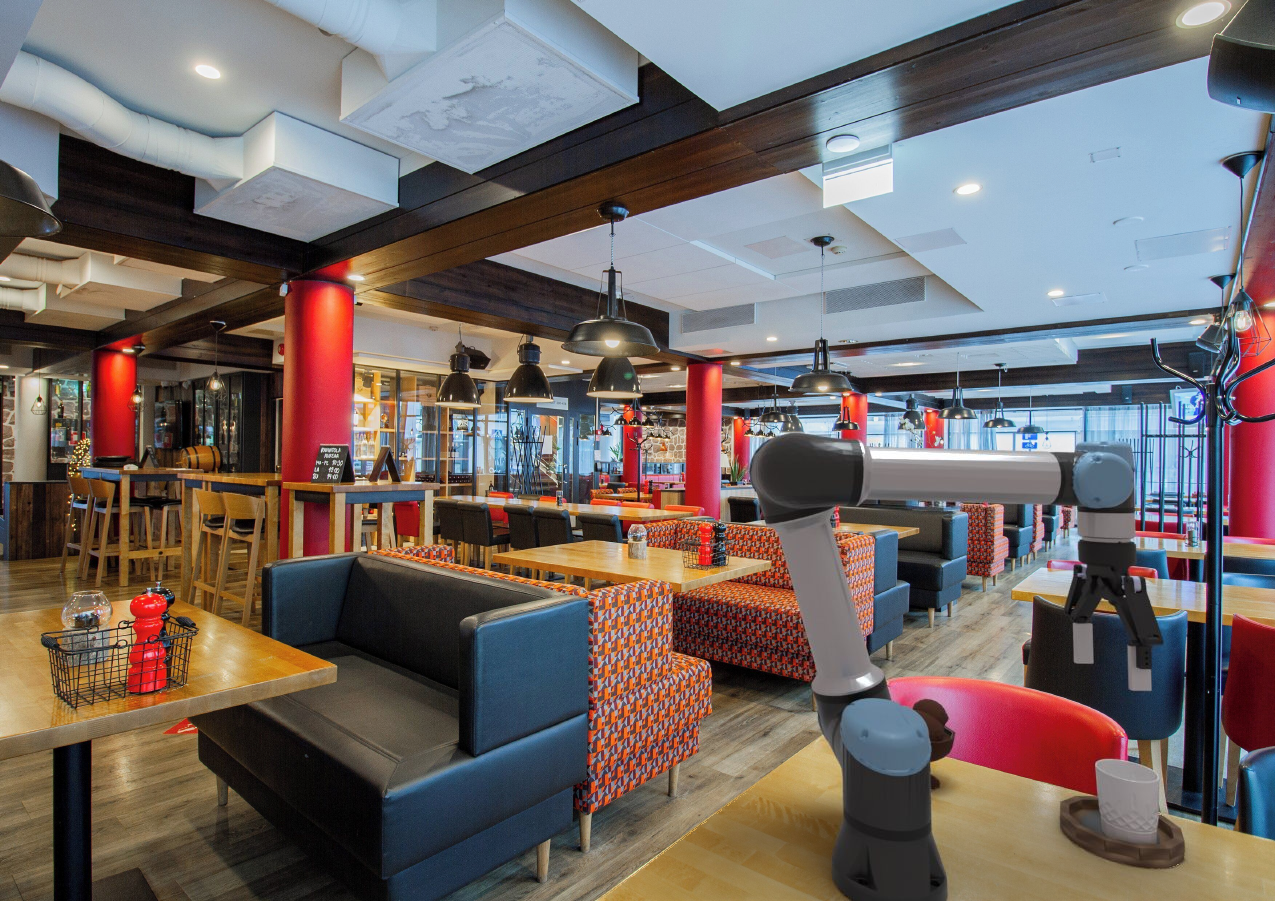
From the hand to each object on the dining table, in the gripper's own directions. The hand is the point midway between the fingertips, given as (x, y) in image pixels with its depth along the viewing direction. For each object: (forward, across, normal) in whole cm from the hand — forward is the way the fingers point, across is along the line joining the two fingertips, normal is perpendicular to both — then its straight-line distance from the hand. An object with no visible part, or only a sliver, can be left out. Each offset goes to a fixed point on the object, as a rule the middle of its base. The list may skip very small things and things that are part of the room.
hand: (1110, 675), depth 105 cm
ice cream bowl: (+25, +18, +23) cm, 38 cm away
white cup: (+24, -3, 0) cm, 24 cm away
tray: (+25, 0, 0) cm, 25 cm away
